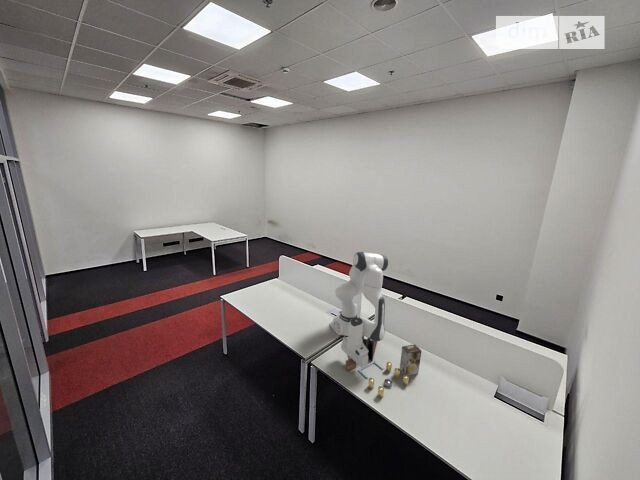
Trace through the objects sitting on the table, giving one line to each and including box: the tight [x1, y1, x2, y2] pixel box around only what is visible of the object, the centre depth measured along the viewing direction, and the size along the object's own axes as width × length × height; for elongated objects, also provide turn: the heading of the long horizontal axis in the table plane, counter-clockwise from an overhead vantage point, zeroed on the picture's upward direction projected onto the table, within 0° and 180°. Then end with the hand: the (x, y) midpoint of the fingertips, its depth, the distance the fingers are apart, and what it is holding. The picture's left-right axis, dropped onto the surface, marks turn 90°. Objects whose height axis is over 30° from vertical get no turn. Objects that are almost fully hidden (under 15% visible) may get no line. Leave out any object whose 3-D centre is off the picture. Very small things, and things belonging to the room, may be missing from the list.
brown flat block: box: [344, 358, 357, 372], centre depth 160 cm, size 2×10×6 cm, turn 125°
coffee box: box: [399, 344, 422, 376], centre depth 156 cm, size 9×6×16 cm
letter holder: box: [362, 335, 378, 362], centre depth 174 cm, size 10×20×14 cm, turn 160°
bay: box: [357, 360, 384, 380], centre depth 158 cm, size 7×14×1 cm, turn 125°
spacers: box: [367, 361, 410, 400], centre depth 148 cm, size 15×21×5 cm
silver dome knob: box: [383, 378, 393, 389], centre depth 148 cm, size 4×4×2 cm
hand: (353, 364), depth 160 cm, fingers open, 5 cm apart
